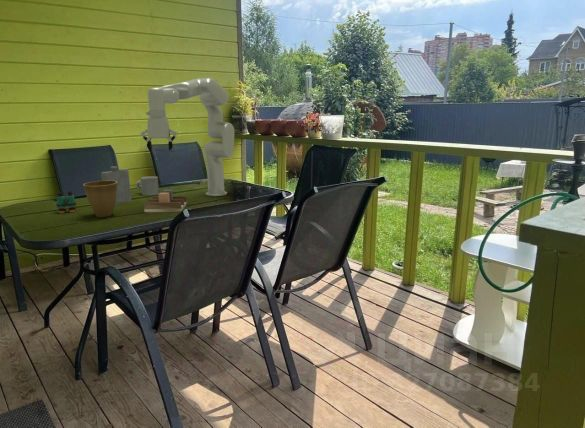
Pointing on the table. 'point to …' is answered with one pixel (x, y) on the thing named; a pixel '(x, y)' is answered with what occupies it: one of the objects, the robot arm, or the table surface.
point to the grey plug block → (169, 193)
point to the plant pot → (101, 196)
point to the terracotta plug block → (164, 197)
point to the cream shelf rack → (166, 204)
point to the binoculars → (66, 202)
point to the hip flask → (119, 183)
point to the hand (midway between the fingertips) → (160, 149)
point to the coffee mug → (148, 185)
